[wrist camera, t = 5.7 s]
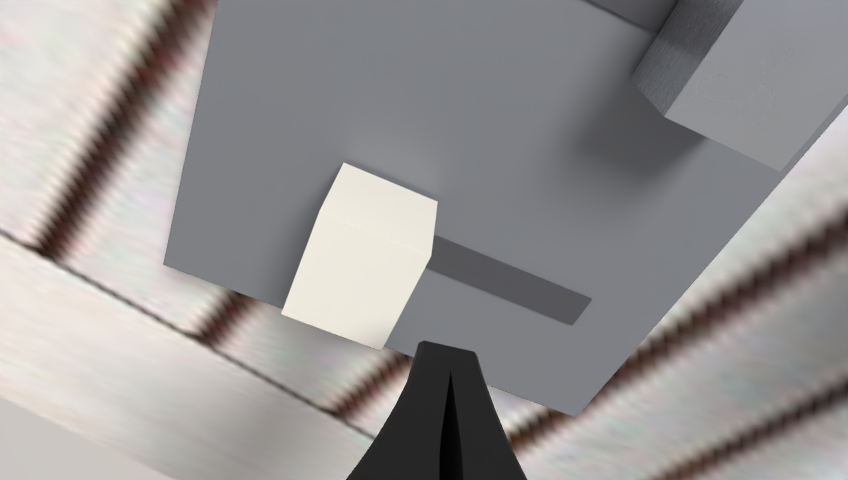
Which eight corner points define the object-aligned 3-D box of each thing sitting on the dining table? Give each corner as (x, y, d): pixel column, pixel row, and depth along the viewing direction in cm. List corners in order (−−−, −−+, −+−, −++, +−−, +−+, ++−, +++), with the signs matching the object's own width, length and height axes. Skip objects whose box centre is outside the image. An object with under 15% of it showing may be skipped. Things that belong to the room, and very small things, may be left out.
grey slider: (829, -10, 13) (917, 11, 10) (727, 125, 15) (779, 171, 12) (722, -68, 13) (785, -60, 10) (630, 78, 14) (663, 117, 12)
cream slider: (437, 201, 17) (431, 255, 14) (393, 288, 18) (380, 351, 16) (343, 162, 16) (319, 211, 14) (308, 255, 18) (280, 314, 15)
